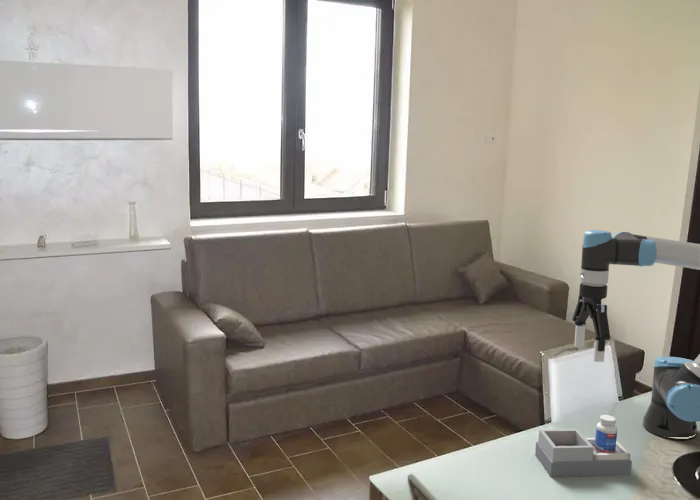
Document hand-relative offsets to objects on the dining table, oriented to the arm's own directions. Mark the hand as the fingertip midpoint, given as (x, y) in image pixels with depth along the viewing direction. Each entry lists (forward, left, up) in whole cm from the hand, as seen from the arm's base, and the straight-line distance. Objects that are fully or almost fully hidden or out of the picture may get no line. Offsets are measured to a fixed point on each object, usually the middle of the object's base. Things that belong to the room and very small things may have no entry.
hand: (588, 353), depth 188 cm
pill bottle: (+1, +16, -23) cm, 28 cm away
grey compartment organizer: (+7, +16, -27) cm, 32 cm away
